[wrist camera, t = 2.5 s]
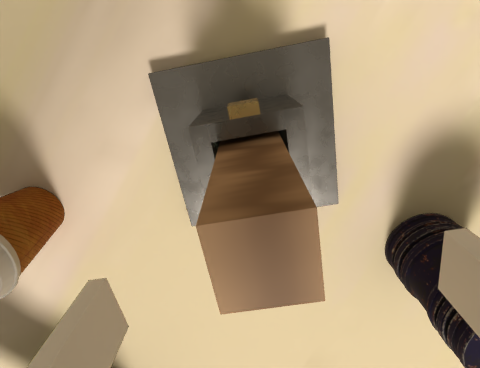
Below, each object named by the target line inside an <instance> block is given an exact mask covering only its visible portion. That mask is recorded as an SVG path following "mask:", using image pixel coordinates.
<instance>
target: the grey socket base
mask: <svg viewBox="0 0 480 368" xmlns="http://www.w3.org/2000/svg"><path fill="white" fill-rule="evenodd" d="M148 75H149V78H150V82H151V85H152V89H153V92H154V96H155V99H156V103H157V106H158V110H159V113H160V117H161V120H162V124H163V127H164V131H165V134H166V138H167V141H168V145H169V148H170V152H171V155H172V159H173V162H174V166H175V169H176V173H177V176H178V180H179V183H180V187H181V190H182V194H183V197H184V201H185V204H186V208H187V211H188V215H189V218H190V222H191V225H192V226H196V224H197V220H198V217H199V213H200V210H201V206H202V203H203V199H204V196H205V193H206V189H207V186H208V182H209V179H210V175H211V172H212V168H213V165H214V161H215V158H216V154H217V151H218V147H219V144H220V141H223V140H228V139H234V138H240V137H245V136H251V135H256V134H262V133H268V132H273V131H278V132H279V134H280V136H281V138H282V140H283V142H284V144H285V146H286V148H287V150H288V152H289V154H290V156H291V158H292V160H293V162H294V164H295V166H296V168H297V170H298V172H299V174H300V176H301V177H302V179H303V181H304V183H305V185H306V187H307V189H308V191H309V193H310V195H311V197H312V199H313V201H314V203H315V205H316V207H320V206H327V205H333V204H338V187H337V169H336V151H335V134H334V116H333V98H332V81H331V63H330V45H329V38H324V39H319V40H314V41H309V42H304V43H299V44H294V45H289V46H284V47H279V48H274V49H269V50H264V51H259V52H254V53H249V54H244V55H239V56H234V57H229V58H224V59H219V60H214V61H209V62H204V63H199V64H194V65H189V66H184V67H179V68H174V69H169V70H164V71H159V72H154V73H149V74H148Z"/></svg>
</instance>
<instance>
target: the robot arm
mask: <svg viewBox="0 0 480 368" xmlns="http://www.w3.org/2000/svg"><path fill="white" fill-rule="evenodd" d="M438 289H439V290H440V291H441V293H442V294H443V295H444V296H445V297H446V299H447V300H448V301H449V302H450V303H451V304H452V306H453V307H454V308H455V309H456V310H457V312H458V313H459V314H460V315H461V316H462V318H463V319H464V320H465V321H466V322H467V323H468V325H469V326H470V327H471V328H472V329H473V331H474V332H475V333H476V334H477V335H478V337H479V338H480V238H479V237H478V236H476V235H475V234H474V233H472V232H471V231H470V230H469V229H467V228H462V229H455V230H448V231H444V240H443V248H442V257H441V266H440V275H439V284H438ZM128 327H129V326H128V324H127V322H126V319H125V317H124V315H123V313H122V311H121V309H120V306H119V304H118V302H117V300H116V298H115V296H114V293H113V291H112V289H111V287H110V285H109V283H108V281H107V278H102V279H95V280H88V282H87V283H86V285H85V286H84V288H83V289H82V290H81V292H80V293H79V295H78V296H77V297H76V299H75V300H74V302H73V303H72V304H71V306H70V307H69V309H68V310H67V312H66V313H65V314H64V316H63V317H62V319H61V320H60V321H59V323H58V324H57V326H56V327H55V328H54V330H53V331H52V333H51V334H50V335H49V337H48V338H47V340H46V341H45V343H44V344H43V345H42V347H41V348H40V350H39V351H38V352H37V354H36V355H35V357H34V358H33V359H32V361H31V362H30V364H29V365H28V366H27V368H111V366H112V364H113V361H114V359H115V357H116V354H117V352H118V350H119V348H120V345H121V343H122V341H123V338H124V336H125V334H126V331H127V329H128Z"/></svg>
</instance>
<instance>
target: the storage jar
mask: <svg viewBox="0 0 480 368" xmlns="http://www.w3.org/2000/svg"><path fill="white" fill-rule="evenodd" d="M462 228H463V227H461V226H459V225H458V224H456V223H455V222H454V221H453V220H451V219H450V218H448V217H446V216H444V215H441V214H435V213H427V214H421V215H417V216H414V217H411V218H409V219H407V220H405V221H404V222H402V223H401V224H400V225H398V226H397V227H396V228H395V229H394V230H393V231H392V233H391V234H390V236H389V238H388V240H387V242H386V246H385V255H386V259H387V261H388V263H389V264H390V265H391V267H392V268H393V269H394V271H395V273H396V275H397V277H398V278H399V279H400V281H401V282H402V283H403V285H404V286H405V288H406V289H407V290H408V292H410V293H411V295H413V296H414V297H415V298H416V299H418V300H419V302H420V303H421V304H422V306H423V307H424V308H425V310H426V311H427V314H428V317H429V319H430V321H431V323H432V325H433V327H434V328H435V329H436V330H437V331H438V332H439V335H440V336H441V337H442V339H443V340H444V341H445V343H446V344H447V345H448V347H449V348H450V349H452V351H453V352H454V353H455V355H456V356H457V357H458V358H459V359H460V362H461V363H462V364H463V366H464V367H465V368H480V338H479V337H478V335H477V334H476V333H475V332H474V331H473V329H472V328H471V327H470V326H469V325H468V323H467V322H466V321H465V320H464V319H463V318H462V316H461V315H460V314H459V313H458V312H457V310H456V309H455V308H454V307H453V306H452V304H451V303H450V302H449V301H448V300H447V299H446V297H445V296H444V295H443V294H442V293H441V291H440V290H439V289H438V284H439V275H440V266H441V257H442V248H443V240H444V231H448V230H455V229H462Z"/></svg>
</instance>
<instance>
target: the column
mask: <svg viewBox="0 0 480 368" xmlns="http://www.w3.org/2000/svg"><path fill="white" fill-rule="evenodd" d="M196 228H197V232H198V236H199V239H200V243H201V246H202V250H203V253H204V257H205V261H206V264H207V268H208V271H209V275H210V278H211V282H212V286H213V289H214V293H215V296H216V300H217V303H218V307H219V311H220V314H228V313H236V312H243V311H251V310H259V309H267V308H274V307H282V306H290V305H298V304H305V303H313V302H321V301H325V294H324V283H323V272H322V261H321V250H320V238H319V227H318V216H317V207H316V205H315V203H314V201H313V199H312V197H311V195H310V193H309V191H308V189H307V187H306V185H305V183H304V181H303V179H302V177H301V176H300V174H299V172H298V170H297V168H296V166H295V164H294V162H293V160H292V158H291V156H290V154H289V152H288V150H287V148H286V146H285V144H284V142H283V140H282V138H281V136H280V134H279V132H278V131H273V132H268V133H262V134H256V135H251V136H245V137H240V138H234V139H228V140H223V141H220V144H219V147H218V151H217V154H216V158H215V161H214V165H213V168H212V172H211V175H210V179H209V182H208V186H207V189H206V193H205V196H204V199H203V203H202V206H201V210H200V213H199V217H198V220H197V224H196Z"/></svg>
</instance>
